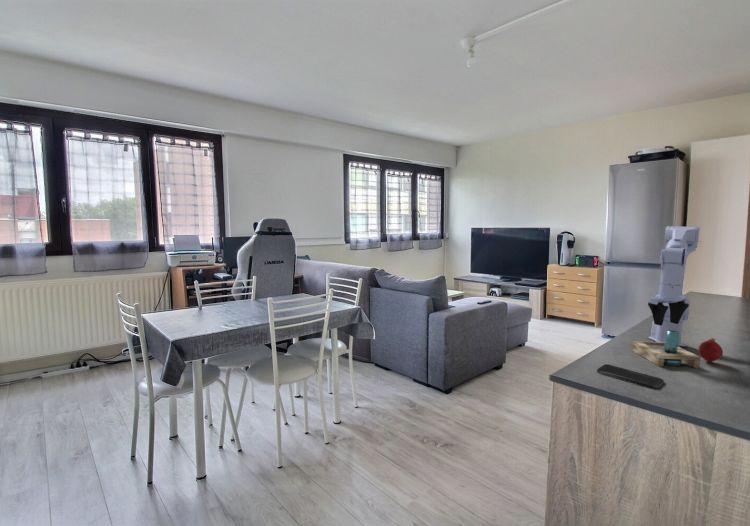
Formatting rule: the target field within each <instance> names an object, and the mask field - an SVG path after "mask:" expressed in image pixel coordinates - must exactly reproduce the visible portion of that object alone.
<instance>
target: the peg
mask: <svg viewBox="0 0 750 526" xmlns="http://www.w3.org/2000/svg"><path fill="white" fill-rule="evenodd" d="M679 334H680V333H679V332H677V331H672V330H667V334H666V342H665V350H664V349H663V351H664V352H666V353H668V354H677V349H678V347H679V346H678V341H679ZM682 363H683V362H682V359H664V363H663V365H667V364H668V365H669V366H672V365H674V367H679V366H678V365H680V366H682Z"/></svg>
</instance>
